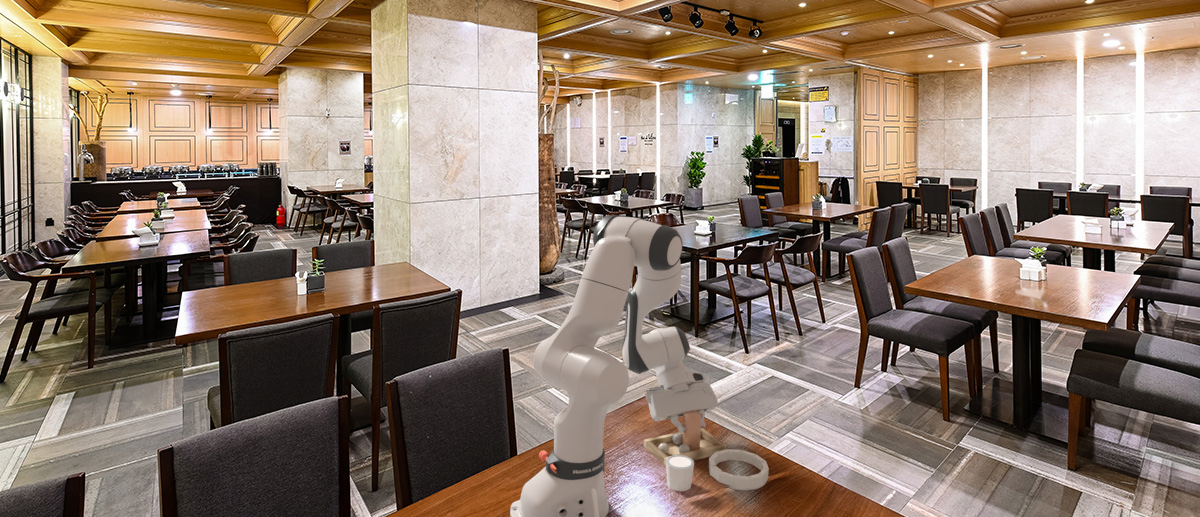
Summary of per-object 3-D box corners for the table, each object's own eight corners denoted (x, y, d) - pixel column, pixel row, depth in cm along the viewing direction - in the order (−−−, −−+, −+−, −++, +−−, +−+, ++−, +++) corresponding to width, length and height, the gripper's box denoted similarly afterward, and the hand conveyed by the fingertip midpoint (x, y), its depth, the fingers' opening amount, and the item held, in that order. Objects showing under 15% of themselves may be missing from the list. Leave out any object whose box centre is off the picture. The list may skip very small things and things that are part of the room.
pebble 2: (686, 443, 170) (677, 448, 169) (681, 438, 172) (672, 444, 171) (683, 434, 169) (674, 439, 168) (677, 429, 171) (669, 435, 170)
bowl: (732, 495, 147) (732, 483, 146) (698, 467, 160) (698, 456, 159) (779, 482, 153) (780, 470, 152) (742, 456, 166) (743, 445, 165)
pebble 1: (661, 457, 163) (661, 447, 162) (655, 452, 165) (656, 442, 165) (671, 455, 164) (671, 445, 163) (665, 450, 167) (665, 440, 166)
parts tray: (666, 469, 158) (666, 459, 158) (643, 449, 169) (643, 439, 168) (726, 455, 166) (726, 445, 166) (701, 436, 177) (701, 427, 176)
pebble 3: (691, 444, 163) (692, 456, 163) (687, 442, 166) (688, 454, 166) (680, 445, 162) (681, 457, 162) (676, 443, 165) (677, 455, 165)
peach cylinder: (688, 453, 165) (689, 418, 163) (678, 445, 169) (680, 411, 168) (703, 450, 167) (704, 415, 165) (693, 442, 171) (694, 408, 170)
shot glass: (692, 497, 146) (693, 470, 145) (663, 493, 147) (664, 466, 146) (693, 482, 153) (694, 456, 151) (666, 478, 154) (667, 453, 153)
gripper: (647, 384, 167) (664, 432, 160) (709, 373, 175) (728, 419, 169) (638, 393, 172) (655, 441, 165) (700, 382, 180) (718, 427, 173)
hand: (693, 430), depth 167 cm, fingers closed on peach cylinder, 5 cm apart
